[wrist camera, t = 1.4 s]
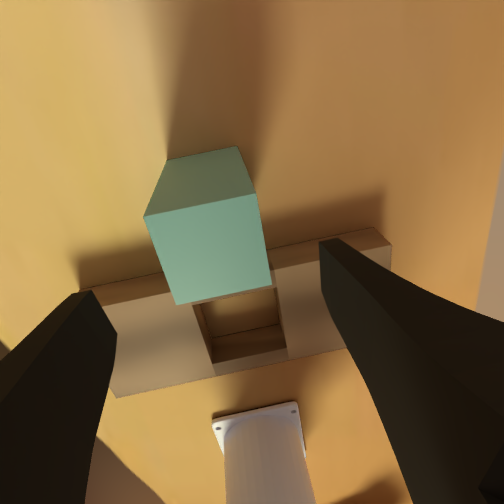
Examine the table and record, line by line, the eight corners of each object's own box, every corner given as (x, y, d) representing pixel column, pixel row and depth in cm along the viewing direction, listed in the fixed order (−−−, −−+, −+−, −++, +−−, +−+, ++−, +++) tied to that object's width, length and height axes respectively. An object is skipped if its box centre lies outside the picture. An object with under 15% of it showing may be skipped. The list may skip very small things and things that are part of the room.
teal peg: (249, 210, 20) (272, 284, 13) (186, 224, 20) (176, 305, 13) (237, 145, 18) (256, 193, 11) (167, 160, 18) (143, 216, 11)
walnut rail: (371, 316, 26) (386, 339, 24) (123, 370, 26) (116, 398, 23) (373, 227, 22) (391, 244, 20) (79, 289, 21) (65, 314, 19)
